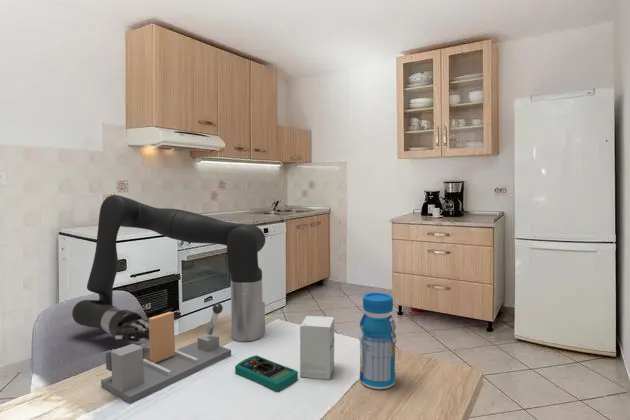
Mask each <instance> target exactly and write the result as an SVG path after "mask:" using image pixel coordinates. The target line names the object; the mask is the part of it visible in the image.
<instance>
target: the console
mask: <svg viewBox="0 0 630 420" xmlns="http://www.w3.org/2000/svg"><path fill="white" fill-rule="evenodd" d="M110 352H111V366H112V371H111V376H108V377H106V378H103V379H101V380H100V386H101V388H102V389H104V390H106V391H108V392H110V393H111V394H113V395H114V396H116V397H118V398H120V399H121V400H122V401H125V402H127V404H129V405H130V404H132V403H135V402H137V401H139V400H141V399H143V398H145V397H147V396H149V395H151V394H154V393H156V392H159V390H160V391H161V390H162V389H164V388H166V387H168V386H170V385H173V384H174V383H176V382H178V381H180V380H183V379H185V378H187V377H189V376H191V375H194V374H195V373H197V372H199V371H201V370H202V371H203V370H204V369H206V368H208V367H210V366H212V365H213V364H214V365H215V364H216V363H218V362H220V361H223V360H225V359H227V358H229V357H230V356H232V350H231V349H230V348H226V347H224V346H221V345H220V336H219V335H217V334H214V333H213V334H212V335H208V334H207V333H206V334H203V335H201V336H198V337H197V341H196V342H193V343H190V344H187V345H186V346H183V347H180V348H178V349H175V355H173V356H171V357H168V358H166V359H163V360H161V361H159V362H156V363H153V362H151V361H150V360H148V359H146V358H144V349H143V347H142V346H140V345H138V344H135V343H131V344H127V345H125V346H122V347H119V348H117V349H114V350H111V351H110Z"/></svg>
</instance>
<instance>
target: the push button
mask: <svg viewBox="0 0 630 420" xmlns="http://www.w3.org/2000/svg"><path fill="white" fill-rule="evenodd" d="M105 369H106V370H107V371H109V372H112V366H111V351H108V352H106V353H105Z"/></svg>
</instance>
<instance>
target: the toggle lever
mask: <svg viewBox="0 0 630 420" xmlns="http://www.w3.org/2000/svg"><path fill="white" fill-rule="evenodd" d="M223 309H224V308H223V305H222V304H221V303H215V304H214V305H213V306H212V314H211V318H210V321H209V324H208V327H207V330H206V334H208V335H212V334H214V331H215V328H216V325H217V323H218V322H217V321H218V318H219V315H220V314H221V313H222V312H223Z"/></svg>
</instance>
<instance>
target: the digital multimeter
mask: <svg viewBox="0 0 630 420" xmlns="http://www.w3.org/2000/svg"><path fill="white" fill-rule="evenodd" d="M234 367H235V368H234V371H235V372H234V373H235V374H236V375H239V376H241V377H243V378H244V379H245V378H246V379H247V380H250V381H252V382H255V383H256V384H259V385H260V386H261V385H262V386H263V387H266V388H268V389H269V390H271V391H274V392H280V391H282V390H284V389H286V388H287V387H289V386H290V385H292V384H294V383H295V382H296V381H297V380H298V379H299V372H298V371H297V370H295V368H294V369H293V368H290V367H288V366H284V365H283V364H280V363H278V362H274V361H272V360H269V359H267V358H264V357H262V356H259V355H252V356H249V357H247V358H245V359H243V360H241V361H240V362H238V363H237V364H236V365H235V366H234Z"/></svg>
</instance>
